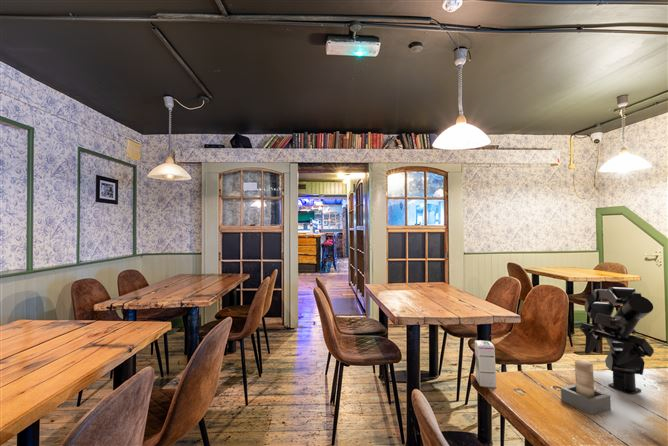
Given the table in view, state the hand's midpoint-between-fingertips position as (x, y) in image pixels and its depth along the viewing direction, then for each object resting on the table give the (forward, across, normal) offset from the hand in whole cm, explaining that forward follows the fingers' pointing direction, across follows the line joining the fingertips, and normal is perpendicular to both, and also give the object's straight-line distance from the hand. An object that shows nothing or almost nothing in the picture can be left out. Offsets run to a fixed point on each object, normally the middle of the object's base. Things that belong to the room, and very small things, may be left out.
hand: (600, 358), depth 101 cm
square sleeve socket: (+15, 0, +5) cm, 15 cm away
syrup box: (+29, -20, -10) cm, 37 cm away
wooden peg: (+15, 0, +5) cm, 15 cm away
